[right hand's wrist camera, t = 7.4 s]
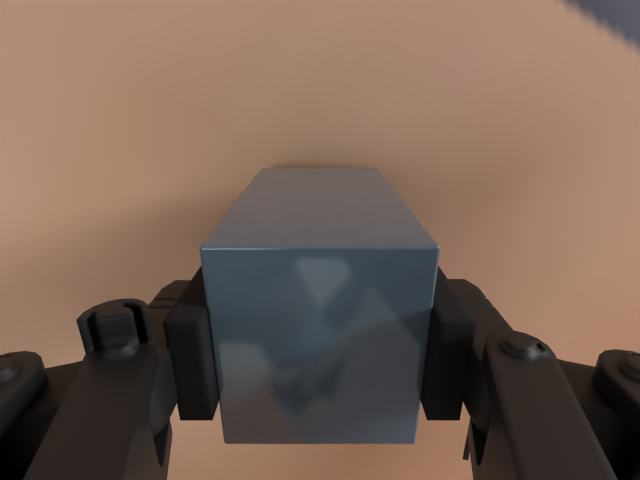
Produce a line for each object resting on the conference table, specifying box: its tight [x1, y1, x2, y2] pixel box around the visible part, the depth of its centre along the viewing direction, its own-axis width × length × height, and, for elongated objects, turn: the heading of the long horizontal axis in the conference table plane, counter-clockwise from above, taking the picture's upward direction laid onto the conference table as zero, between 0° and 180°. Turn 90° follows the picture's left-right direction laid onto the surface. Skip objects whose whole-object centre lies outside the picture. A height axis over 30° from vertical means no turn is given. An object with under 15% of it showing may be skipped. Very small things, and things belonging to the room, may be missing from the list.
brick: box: [200, 168, 440, 444], centre depth 13 cm, size 5×6×9 cm
